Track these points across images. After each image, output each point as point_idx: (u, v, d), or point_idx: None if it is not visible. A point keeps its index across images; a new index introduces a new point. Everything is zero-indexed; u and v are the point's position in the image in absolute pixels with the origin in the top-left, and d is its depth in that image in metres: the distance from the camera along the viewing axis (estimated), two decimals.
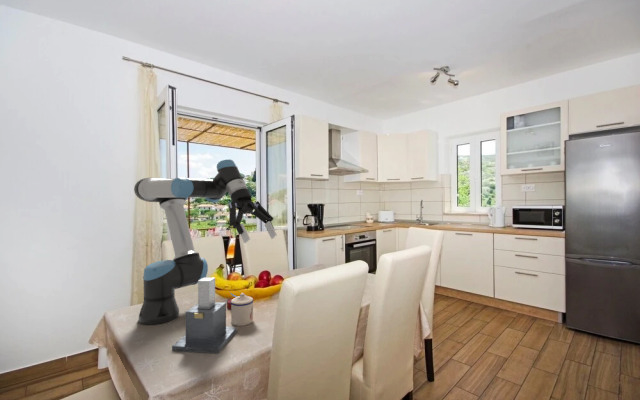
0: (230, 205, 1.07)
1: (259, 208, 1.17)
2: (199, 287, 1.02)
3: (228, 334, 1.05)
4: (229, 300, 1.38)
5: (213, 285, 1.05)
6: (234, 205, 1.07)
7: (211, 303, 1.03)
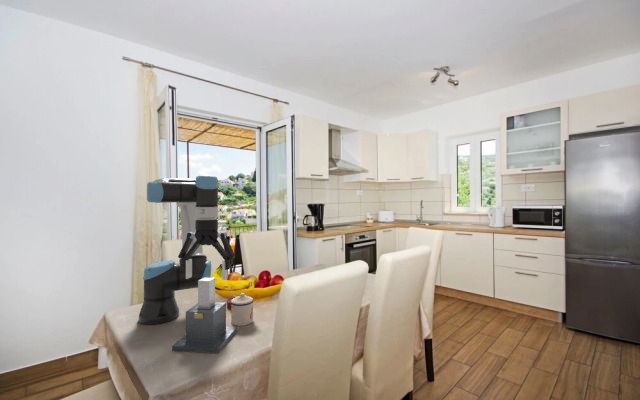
0: None
1: None
2: (199, 287, 1.02)
3: (228, 334, 1.05)
4: (229, 300, 1.38)
5: (213, 285, 1.05)
6: (188, 237, 1.03)
7: (211, 303, 1.03)
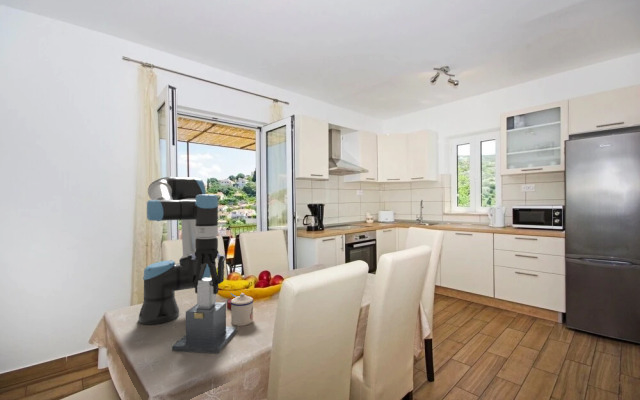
0: None
1: None
2: (199, 287, 1.02)
3: (228, 334, 1.05)
4: (229, 300, 1.38)
5: None
6: (190, 260, 1.03)
7: None
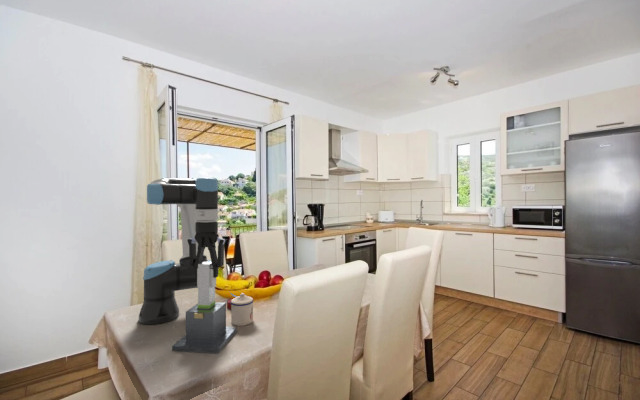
0: None
1: None
2: (199, 270, 1.02)
3: (228, 334, 1.05)
4: (229, 300, 1.38)
5: None
6: (190, 243, 1.03)
7: None
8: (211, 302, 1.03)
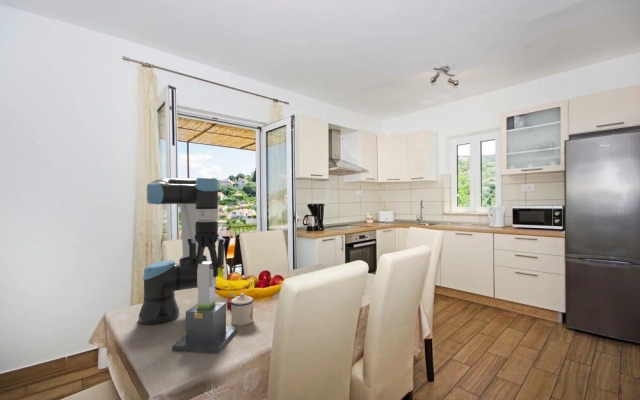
0: None
1: None
2: (199, 270, 1.02)
3: (228, 334, 1.05)
4: (229, 300, 1.38)
5: None
6: (190, 243, 1.03)
7: (211, 287, 1.03)
8: (211, 302, 1.03)
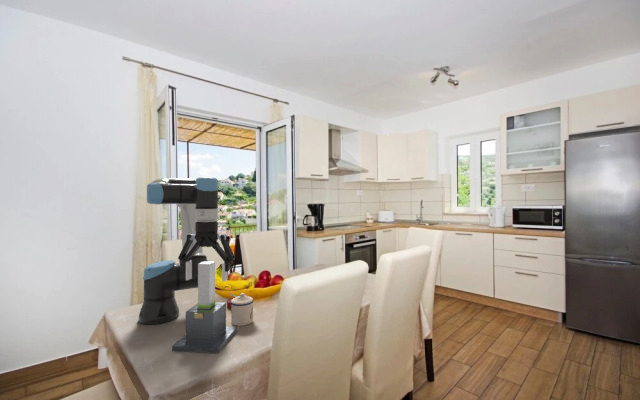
0: None
1: None
2: (199, 270, 1.02)
3: (228, 334, 1.05)
4: (229, 300, 1.38)
5: (213, 269, 1.05)
6: (188, 239, 1.03)
7: (211, 287, 1.03)
8: (211, 302, 1.03)
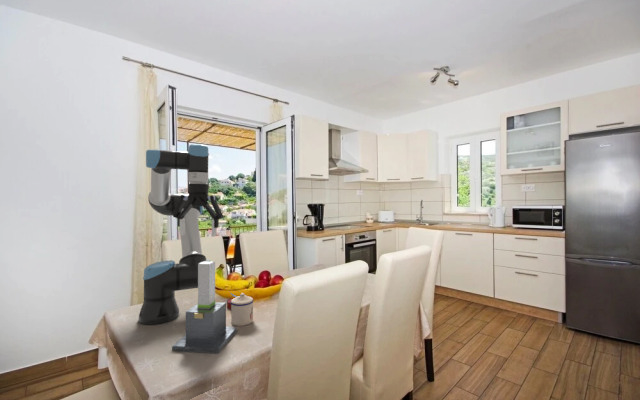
0: None
1: None
2: (199, 270, 1.02)
3: (228, 334, 1.05)
4: (229, 300, 1.38)
5: (213, 269, 1.05)
6: (182, 199, 1.17)
7: (211, 287, 1.03)
8: (211, 302, 1.03)
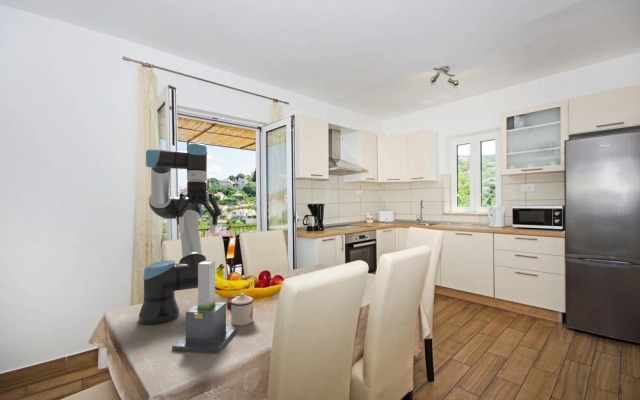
0: None
1: None
2: (199, 270, 1.02)
3: (228, 334, 1.05)
4: (229, 300, 1.38)
5: (213, 269, 1.05)
6: (181, 197, 1.19)
7: (211, 287, 1.03)
8: (211, 302, 1.03)
